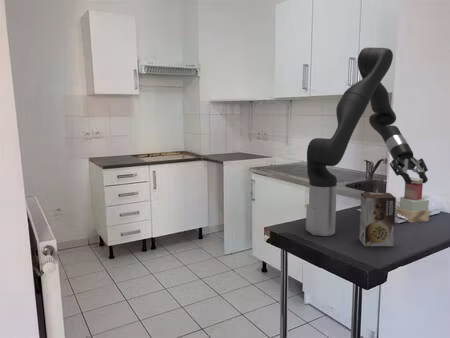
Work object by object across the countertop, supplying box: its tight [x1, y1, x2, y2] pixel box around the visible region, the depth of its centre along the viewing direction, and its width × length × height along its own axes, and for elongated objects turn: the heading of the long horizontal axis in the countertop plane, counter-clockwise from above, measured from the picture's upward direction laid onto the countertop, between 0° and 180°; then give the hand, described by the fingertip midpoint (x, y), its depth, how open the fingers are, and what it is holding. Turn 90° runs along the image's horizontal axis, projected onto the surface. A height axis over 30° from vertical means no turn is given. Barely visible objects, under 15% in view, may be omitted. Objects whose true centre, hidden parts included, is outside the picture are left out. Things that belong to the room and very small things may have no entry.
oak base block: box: [396, 206, 430, 223], centre depth 139 cm, size 8×8×4 cm
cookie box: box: [358, 192, 397, 247], centre depth 114 cm, size 9×6×16 cm
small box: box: [403, 176, 424, 200], centre depth 138 cm, size 5×4×8 cm
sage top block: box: [399, 196, 430, 212], centre depth 138 cm, size 7×7×4 cm
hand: (417, 182), depth 135 cm, fingers open, 6 cm apart
